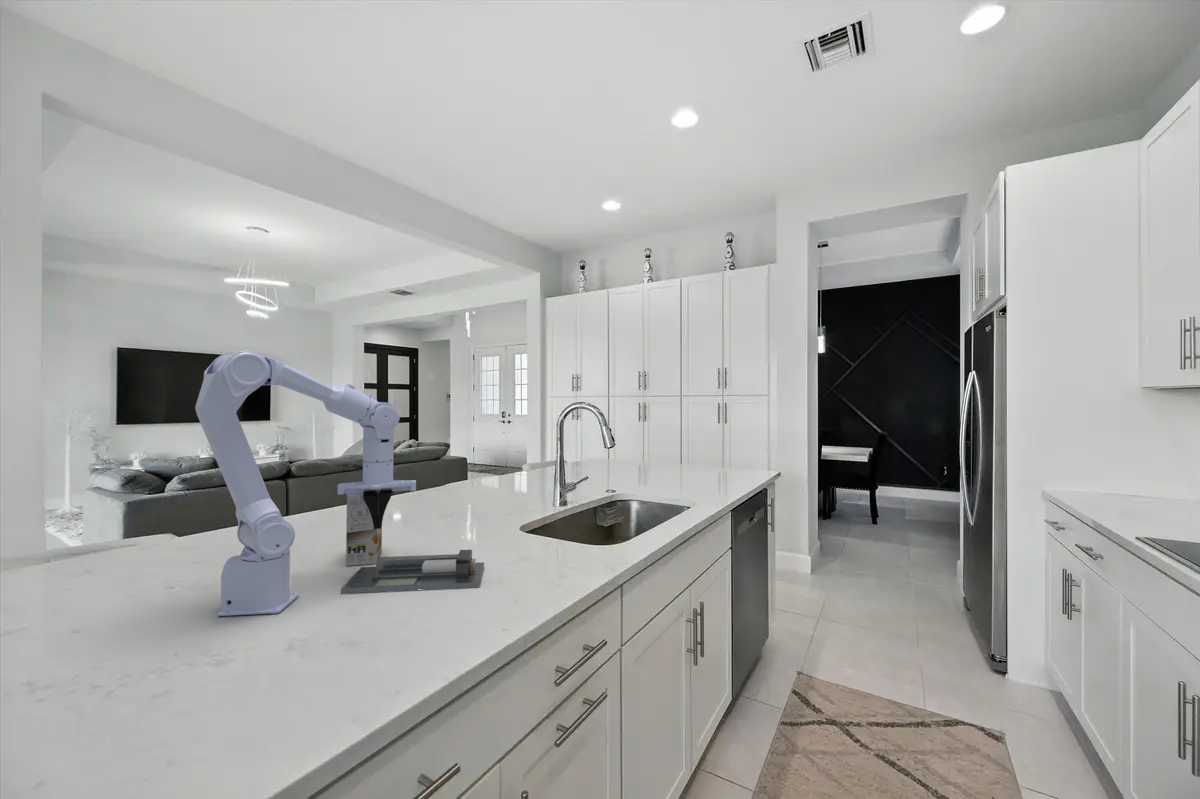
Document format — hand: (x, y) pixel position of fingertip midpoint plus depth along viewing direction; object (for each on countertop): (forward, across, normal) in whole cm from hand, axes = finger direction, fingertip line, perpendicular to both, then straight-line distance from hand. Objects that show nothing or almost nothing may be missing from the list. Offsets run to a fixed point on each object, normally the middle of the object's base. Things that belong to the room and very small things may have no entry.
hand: (377, 527), depth 103 cm
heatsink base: (+10, +8, -5) cm, 13 cm away
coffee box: (+10, -4, +13) cm, 17 cm away
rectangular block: (+9, +14, -6) cm, 17 cm away
